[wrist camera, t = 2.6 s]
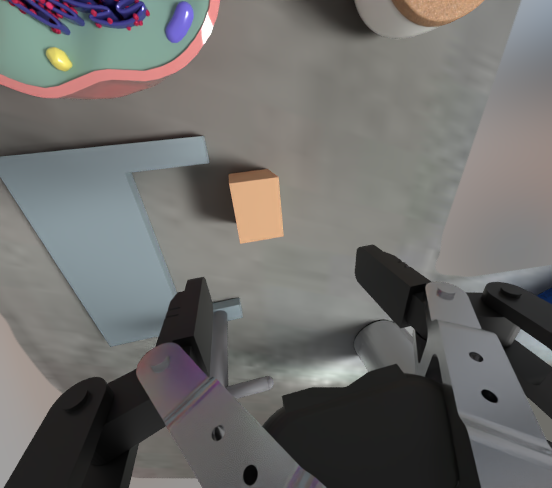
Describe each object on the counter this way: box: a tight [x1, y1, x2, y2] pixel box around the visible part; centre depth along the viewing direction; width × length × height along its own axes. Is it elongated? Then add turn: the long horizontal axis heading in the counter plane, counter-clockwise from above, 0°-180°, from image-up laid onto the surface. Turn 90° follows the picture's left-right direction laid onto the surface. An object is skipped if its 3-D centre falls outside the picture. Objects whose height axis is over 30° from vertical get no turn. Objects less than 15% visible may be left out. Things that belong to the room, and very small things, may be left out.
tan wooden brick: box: [229, 169, 284, 244], centre depth 24 cm, size 5×6×6 cm
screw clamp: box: [0, 136, 274, 399], centre depth 21 cm, size 21×24×14 cm
